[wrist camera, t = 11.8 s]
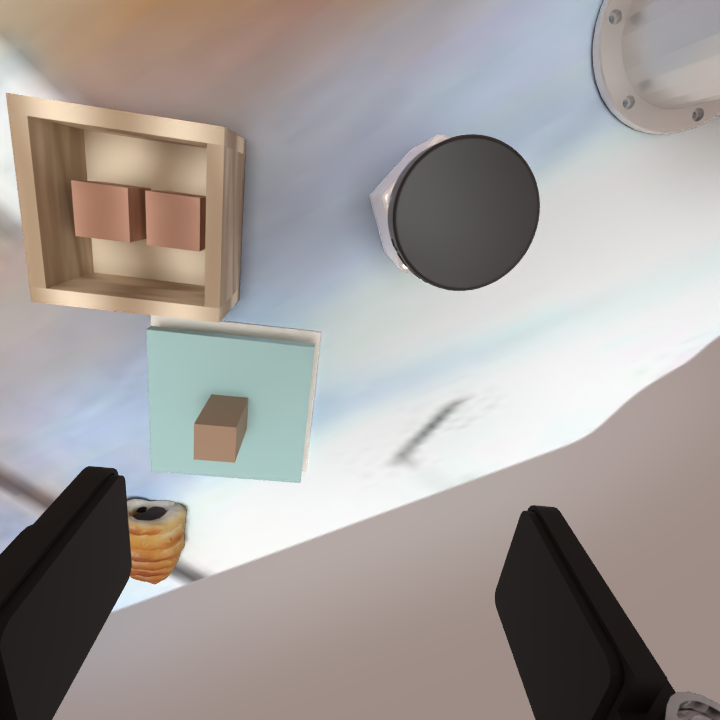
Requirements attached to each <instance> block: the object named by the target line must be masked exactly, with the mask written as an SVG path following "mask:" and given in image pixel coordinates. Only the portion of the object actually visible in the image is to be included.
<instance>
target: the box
mask: <svg viewBox="0 0 720 720" xmlns="http://www.w3.org/2000/svg"><path fill="white" fill-rule="evenodd" d="M6 97H7V106H8V114H9V122H10V130H11V139H12V147H13V155H14V163H15V171H16V180H17V188H18V196H19V204H20V213H21V221H22V229H23V237H24V246H25V254H26V262H27V270H28V278H29V287H30V295H31V302H38V303H47V304H56V305H65V306H74V307H83V308H92V309H101V310H110V311H119V312H127V313H136V314H145V315H154V316H163V317H172V318H181V319H190V320H199V321H208V322H217V323H219V322H220V321H221V320H222V319H223V318H224V317H225V316H226V314H227V313H228V312H229V311H230V310H231V309H232V307H233V306H234V305H235V304H236V303H237V302H238V300H239V294H240V270H241V247H242V223H243V200H244V176H245V153H246V140H245V139H243V138H242V137H240V136H239V135H237V134H235V133H234V132H232V131H230V130H229V129H227V128H225V127H221V126H215V125H208V124H202V123H196V122H189V121H183V120H176V119H170V118H164V117H157V116H151V115H144V114H138V113H132V112H125V111H119V110H112V109H106V108H100V107H93V106H87V105H80V104H74V103H68V102H61V101H55V100H48V99H42V98H36V97H29V96H23V95H16V94H10V93H6Z"/></svg>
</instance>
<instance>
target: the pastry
mask: <svg viewBox="0 0 720 720" xmlns="http://www.w3.org/2000/svg"><path fill="white" fill-rule="evenodd" d="M127 509H128V522H129V534H130V547H131V559H132V568H131V573H130V577H131V578H133V579H136V580H140V581H144V582H145V581H146V582H150V583H152V584H157V583H159V582H160V581H162V580H164V579H166V578H167V577H168V576H169V575H170V574H171V572H172V570H173V569H174V567H175V565H176V564H177V562H178V559H179V557H180V552H181V551H182V550H183V548H184V546H185V540H184V529H185V523H186V522H185V518H186V510H185V509H184V507H183V506H182V505H181V504H176V503H175V502H173V501H168V500H157V501H147V500H142V499H131V500H129V501H127Z"/></svg>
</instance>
